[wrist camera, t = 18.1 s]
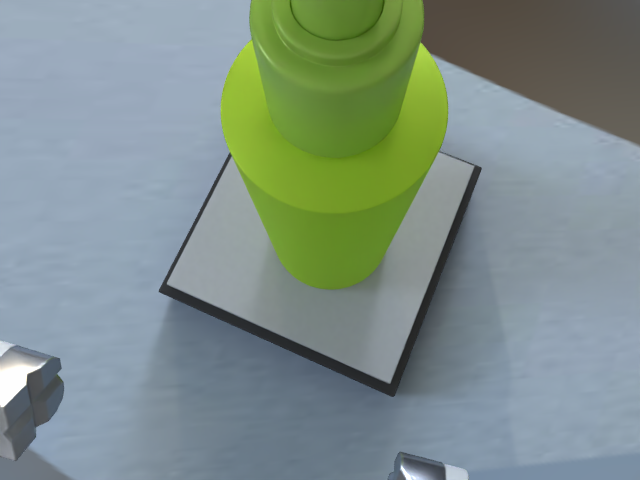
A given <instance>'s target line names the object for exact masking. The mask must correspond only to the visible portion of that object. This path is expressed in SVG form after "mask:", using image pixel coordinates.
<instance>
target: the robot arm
mask: <svg viewBox="0 0 640 480" xmlns="http://www.w3.org/2000/svg"><path fill="white" fill-rule="evenodd" d="M61 369H62V368H61V363H60V358H57V357H54V356H50V355H47V354H44V353H41V352H37V351H34V350H31V349H27V348H24V347H21V346H18V345H14V344H11V343H7V342H4V341H0V457H2V458H6V459H9V460H13V461H17V460H18V458H19V457H20V456H21V455H22V453H23V452H24V451H25V450H26V449H27V447H28V446H29V445H30V444H31V442H32V441H33V440H34V439H35V438H36V427H37V426H39V425H41V424H44V423H46V422H48V421H49V420H50V419H51V418H52V416H53V415H54V414H55V412H56V411H57V409H58V407H59V405H60V403H61V401H62V399H63V393H64V383H63V381H62V380H61V378H60V377H59V376H58V375H57V373H58V372H59V371H60V370H61ZM387 480H469V476H468V473H467V471H466V470H465V469H462V468H458V467H454V466H451V465H447V464H443V463H442V462H438V461H434V460H430V459H427V458H423V457H419V456H415V455H411V454H407V453H404V452H399V453H398V454H397V457H396V459H395V462H394V471H393V472H391V473H390V474H389V476H388V479H387Z"/></svg>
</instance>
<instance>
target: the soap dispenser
mask: <svg viewBox="0 0 640 480" xmlns="http://www.w3.org/2000/svg"><path fill="white" fill-rule="evenodd" d="M249 23H250V31H251V37H252V40H251V41H250V42H249V43H248V44H247V45H246V46H245V47H244V48H243V49H242V51H241V52H240V53H239V55H238V56H237V58H236V59H235V61H234V63H233V65H232V66H231V68H230V71H229V73H228V75H227V78H226V81H225V84H224V88H223V92H222V99H221V122H222V129H223V133H224V137H225V140H226V143H227V146H228V148H229V151H230V153H231V155H232V157H233V159H234V162H235V164H236V166H237V168H238V170H239V172H240V175H241V177H242V179H243V181H244V183H245V186H246V188H247V190H248V192H249V194H250V197H251V199H252V201H253V203H254V205H255V208H256V210H257V212H258V214H259V216H260V218H261V221H262V223H263V225H264V227H265V229H266V232H267V234H268V236H269V238H270V240H271V243H272V245H273V247H274V249H275V251H276V253H277V256H278V258H279V260H280V261H281V263H282V265H283V266H284V267H285V269H286V270H287V271H288V272H289V273H290V274H291V275H292V276H294V277H295V278H296V279H298V280H299V281H301V282H303V283H305V284H307V285H309V286H312V287H315V288H319V289H328V290H334V289H342V288H346V287H350V286H352V285H355V284H357V283H359V282H361V281H362V280H364V279H365V278H367V277H368V276H369V275H370V274H371V273H372V272H373V271H374V270H375V269H376V268H377V267H378V265H379V264H380V262H381V261H382V259H383V257H384V255H385V253H386V251H387V249H388V247H389V245H390V244H391V242H392V240H393V238H394V236H395V234H396V232H397V230H398V228H399V226H400V225H401V223H402V221H403V219H404V217H405V215H406V213H407V211H408V209H409V208H410V206H411V204H412V202H413V200H414V198H415V196H416V194H417V192H418V190H419V189H420V187H421V185H422V183H423V181H424V179H425V177H426V175H427V173H428V171H429V170H430V168H431V166H432V164H433V162H434V160H435V158H436V156H437V154H438V152H439V150H440V148H441V145H442V143H443V140H444V136H445V133H446V128H447V122H448V99H447V92H446V88H445V84H444V81H443V78H442V75H441V73H440V71H439V68H438V66H437V64H436V63H435V61H434V59H433V58H432V56H431V55H430V53H429V52H428V51H427V49H426V48H425V47H424V46H423V45H422V44H421V43H420V42H421V38H422V33H423V27H424V7H423V2H422V0H251V5H250V17H249Z"/></svg>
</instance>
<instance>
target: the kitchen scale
mask: <svg viewBox="0 0 640 480" xmlns="http://www.w3.org/2000/svg"><path fill="white" fill-rule="evenodd" d="M481 169H482V168H481V167H479V166H477V165H474V164H471V163H469V162H466V161H464V160H461V159H459V158H456V157H453V156H451V155H448V154H446V153H443V152H441V151H439V152H438V154H437V156H436V158H435V160H434V162H433V164H432V166H431V168H430V170H429V171H428V173H427V175H426V177H425V179H424V181H423V183H422V185H421V187H420V189H419V190H418V192H417V194H416V196H415V198H414V200H413V202H412V204H411V206H410V208H409V209H408V211H407V213H406V215H405V217H404V219H403V221H402V223H401V225H400V226H399V228H398V230H397V232H396V234H395V236H394V238H393V240H392V242H391V244H390V245H389V247H388V249H387V251H386V253H385V255H384V257H383V259H382V261H381V262H380V264H379V265H378V267H377V268H376V269H375V270H374V271H373V272H372V273H371V274H370V275H369V276H368V277H367V278H365V279H364V280H362V281H361V282H359V283H357V284H355V285H352V286H350V287H346V288H342V289H334V290H328V289H319V288H315V287H312V286H309V285H307V284H305V283H303V282H301V281H299V280H298V279H296V278H295V277H294V276H292V275H291V274H290V273H289V272H288V271H287V270H286V269H285V267H284V266H283V265H282V263H281V261H280V260H279V258H278V256H277V253H276V251H275V249H274V247H273V245H272V243H271V240H270V238H269V236H268V234H267V232H266V229H265V227H264V225H263V223H262V221H261V218H260V216H259V214H258V212H257V210H256V208H255V205H254V203H253V201H252V199H251V197H250V194H249V192H248V190H247V188H246V186H245V183H244V181H243V179H242V177H241V175H240V172H239V170H238V168H237V166H236V164H235V162H234V159H233V157H232V155H231V153H229V155H228V157H227V159H226V161H225V163H224V165H223V167H222V169H221V170H220V172H219V174H218V176H217V178H216V180H215V182H214V184H213V186H212V188H211V190H210V192H209V194H208V196H207V198H206V200H205V202H204V204H203V206H202V207H201V209H200V211H199V213H198V215H197V217H196V219H195V221H194V223H193V225H192V227H191V229H190V231H189V233H188V235H187V237H186V239H185V241H184V243H183V245H182V246H181V248H180V250H179V252H178V254H177V256H176V258H175V260H174V262H173V264H172V266H171V268H170V270H169V272H168V274H167V276H166V278H165V280H164V282H163V283H162V285H161V287H160V289H159V292H160V293H162V294H164V295H167V296H169V297H171V298H173V299H176V300H178V301H180V302H182V303H184V304H187V305H189V306H191V307H193V308H196V309H198V310H200V311H202V312H205V313H207V314H209V315H211V316H213V317H216V318H218V319H220V320H222V321H225V322H227V323H229V324H231V325H233V326H236V327H238V328H240V329H242V330H245V331H247V332H249V333H251V334H253V335H256V336H258V337H260V338H262V339H265V340H267V341H269V342H271V343H273V344H276V345H278V346H280V347H282V348H285V349H287V350H289V351H291V352H294V353H296V354H298V355H300V356H302V357H305V358H307V359H309V360H311V361H314V362H316V363H318V364H320V365H322V366H325V367H327V368H329V369H331V370H334V371H336V372H338V373H340V374H342V375H345V376H347V377H349V378H351V379H354V380H356V381H358V382H360V383H363V384H365V385H367V386H369V387H371V388H374V389H376V390H378V391H380V392H383V393H385V394H387V395H389V396H391V397H394V396H395V393H396V390H397V388H398V385H399V383H400V380H401V377H402V375H403V372H404V370H405V367H406V364H407V362H408V359H409V357H410V354H411V351H412V349H413V346H414V344H415V341H416V338H417V336H418V333H419V331H420V328H421V325H422V323H423V320H424V318H425V315H426V312H427V310H428V307H429V305H430V302H431V299H432V297H433V294H434V292H435V289H436V286H437V284H438V281H439V279H440V276H441V273H442V271H443V268H444V266H445V263H446V260H447V258H448V255H449V253H450V250H451V247H452V245H453V242H454V240H455V237H456V234H457V232H458V229H459V227H460V224H461V221H462V219H463V216H464V214H465V211H466V208H467V206H468V203H469V201H470V198H471V195H472V193H473V190H474V188H475V185H476V182H477V180H478V177H479V175H480V172H481Z"/></svg>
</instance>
